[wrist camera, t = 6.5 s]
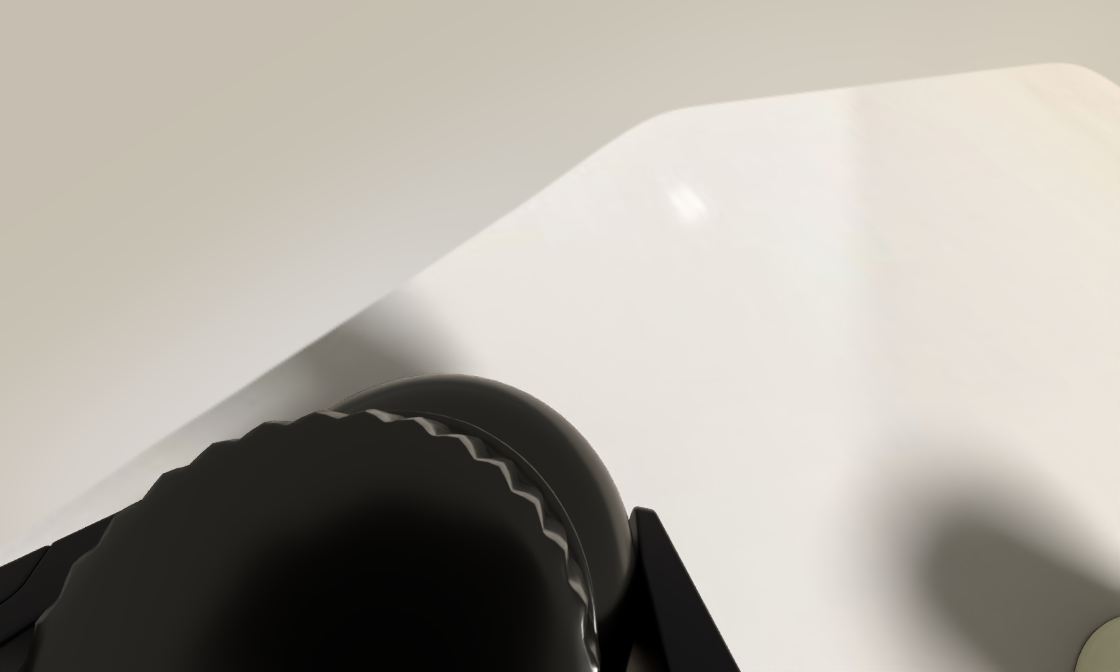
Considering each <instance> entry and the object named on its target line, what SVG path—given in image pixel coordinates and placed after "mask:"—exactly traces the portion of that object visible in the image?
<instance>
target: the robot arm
mask: <svg viewBox="0 0 1120 672" xmlns="http://www.w3.org/2000/svg"><path fill="white" fill-rule="evenodd" d="M121 511H122V510H121ZM119 512H120V511H119ZM117 513H118V512H117ZM117 513H115V514H117ZM115 514H113V515H111V516H109V517H106V518H104V519H102V520H100V521H98V522H96V523H94V524H91V525H89V526H87V527H85V528H83V529H81V530H79V531H76V532H74V533H72V534H70V535H68V536H66V537H64V538H62V539H59V540H57V541H55V542H54V543H52V545H51V546H49V545H48V546H44V547H42V548H40V549H38V550H36V551H33V552H31V553H29V554H27V555H25V556H23V557H21V558H19V559H16V560H14V561H12V562H10V563H8V564H5V565H3V566H1V567H0V672H17V671H18V670H19V669H20V667H21V666H22V664H23V663H24V661H25V659H26V658H27V655H28V650H29V646H30V641H31V637H32V633H33V629H34V626H35V622H36V621H37V620H38V619H39V618H40V617H41V615H42V614H43V613H44V612H45V611H46V610H47V609H48V608H49V607H50V606H51V605H52V604H53V603H54V602H55V601H56V600H57V599H58V597H59V596H60V594H61V591H62V588H63V586H64V583H65V580H66V578H67V576H68V573H69V571H70V569H71V566H72V564H73V563H74V562H76V561H77V560H78V559H79V558H80V557H81V556H83V555H84V554H85V553H86V552H88V551H90V550H91V549H92V548H94V547H95V546H96V545H97V544H98V543H99V541H100V540H101V538H102V536H103V534H104V532H105V531H106V529H107V527H108V525H109V524H110V522H111V521H112V519H113V517H114V516H115ZM629 523H630V527H631V530H632V535H633V540H634V545H635V550H636V559H637V568H638V611H637V622H636V629H635V635H634V642H633V647H632V651H631V655H630V659H629V663H628V667H627V671H626V672H741V671H740V669H739V668H738V666H737V664H736V662H735V660H734V658H733V656H732V654H731V653H730V651H729V649H728V647H727V645H726V643H725V641H724V639H723V638H722V636H721V634H720V632H719V630H718V628H717V626H716V624H715V622H714V621H713V619H712V617H711V615H710V613H709V611H708V609H707V607H706V606H705V604H704V602H703V600H702V598H701V596H700V594H699V592H698V591H697V589H696V587H695V585H694V583H693V581H692V579H691V577H690V575H689V574H688V572H687V570H686V568H685V566H684V564H683V562H682V560H681V559H680V557H679V555H678V553H677V551H676V549H675V547H674V545H673V544H672V542H671V540H670V538H669V536H668V534H667V532H666V530H665V529H664V527H663V525H662V523H661V521H660V519H659V517H658V515H657V514H656V512H655V511H654V510H652V509H648V508H643V507H639V506H636V507H634V509H633V510H632V513H631V516H630V518H629Z"/></svg>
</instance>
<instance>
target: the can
mask: <svg viewBox="0 0 1120 672" xmlns="http://www.w3.org/2000/svg"><path fill="white" fill-rule="evenodd" d="M1075 672H1120V617H1118V618H1115V619H1113V620H1111V621H1109V622H1107V623H1105V624H1104V625H1102V626H1101V627H1100V628H1099V629H1097V630H1096V631H1095V632H1094V633H1093V634H1092V635H1091V637H1090V638H1089V639H1088V641H1087V642H1086V643H1085V645H1084V647H1083V649H1082V651H1081V653H1080V656H1079V658H1078V661H1077V665H1076V669H1075Z"/></svg>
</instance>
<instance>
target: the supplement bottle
mask: <svg viewBox="0 0 1120 672" xmlns="http://www.w3.org/2000/svg"><path fill="white" fill-rule="evenodd" d="M637 611H638V568H637V559H636V550H635V545H634V540H633V535H632V530H631V527H630V523H629V520H628V516H627V513H626V510H625V507H624V504H623V502H622V499H621V497H620V494H619V492H618V489H617V487H616V485H615V483H614V482H613V480H612V478H611V476H610V474H609V472H608V470H607V469H606V467H605V465H604V464H603V462H602V461H601V459H600V457H599V456H598V454H597V453H596V452H595V450H594V449H593V448H592V447H591V445H590V444H589V443H588V441H587V440H586V439H585V438H584V437H583V436H582V435H581V434H580V433H579V431H578V430H577V429H576V428H575V427H574V426H573V425H572V424H571V423H569V422H568V421H567V420H566V419H565V418H564V417H563V416H561V415H560V414H559V413H558V412H556V411H555V410H554V409H552V408H551V407H549V406H548V405H547V404H545V403H544V402H542V401H540V400H539V399H537V398H535V397H533V396H532V395H530V394H528V393H526V392H524V391H521V390H519V389H517V388H515V387H513V386H510V385H507V384H504V383H501V382H498V381H495V380H491V379H486V378H482V377H478V376H470V375H463V374H427V375H419V376H412V377H406V378H401V379H398V380H394V381H390V382H386V383H383V384H380V385H377V386H374V387H371V388H369V389H366V390H364V391H362V392H360V393H357V394H355V395H353V396H351V397H349V398H347V399H345V400H343V401H342V402H340V403H338V404H336V405H335V406H333V407H331V408H330V409H328V410H327V411H326V410H322V411H317V412H314V413H311V414H309V415H307V416H304V417H302V418H300V419H298V420H296V421H294V422H291V421H269V422H265V423H263V424H261V425H259V426H258V427H256V428H255V429H253V430H251V431H250V432H249V433H247V434H246V435H244V436H243V437H242V438H240V439H232V440H226V441H220V442H216V443H212V444H211V445H210V446H209V447H208V448H207V449H205V450H204V451H203V452H202V453H201V454H200V455H199V456H198V457H197V458H196V459H195V460H194V461H193V462H192V463H191V464H190V465H188V466H185V467H181V468H176V469H174V470H171V471H169V472H166V473H163V474H162V475H161V476H160V478H159V479H158V480H157V481H156V482H155V483H154V485H153V486H152V487H151V488H150V490H149V491H148V492H147V494H146V495H145V496H144V498H143V499H142V500H140V501H138V502H136V503H134V504H132V505H130V506H128V507H127V508H125V509H123V510H122V511H120V512H118V513H117V514H115V516H114V517H113V519H112V521H111V522H110V524H109V525H108V527H107V529H106V531H105V532H104V534H103V536H102V538H101V540H100V541H99V543H98V544H97V545H96V546H95V547H94V548H92V549H91V550H90V551H88V552H86V553H85V554H84V555H83V556H81V557H80V558H79V559H78V560H77V561H76V562H74V563H73V564H72V566H71V569H70V571H69V573H68V576H67V578H66V580H65V583H64V586H63V588H62V591H61V594H60V596H59V597H58V599H57V600H56V601H55V602H54V603H53V604H52V605H51V606H50V607H49V608H48V609H47V610H46V611H45V612H44V613H43V614H42V615H41V617H40V618H39V619H38V620H37V621H36V622H35V626H34V629H33V633H32V637H31V641H30V646H29V650H28V655H27V658H26V659H25V661H24V663H23V664H22V666H21V667H20V669H19V670H18V671H17V672H626V671H627V667H628V663H629V659H630V655H631V651H632V647H633V642H634V635H635V629H636V622H637Z"/></svg>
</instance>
